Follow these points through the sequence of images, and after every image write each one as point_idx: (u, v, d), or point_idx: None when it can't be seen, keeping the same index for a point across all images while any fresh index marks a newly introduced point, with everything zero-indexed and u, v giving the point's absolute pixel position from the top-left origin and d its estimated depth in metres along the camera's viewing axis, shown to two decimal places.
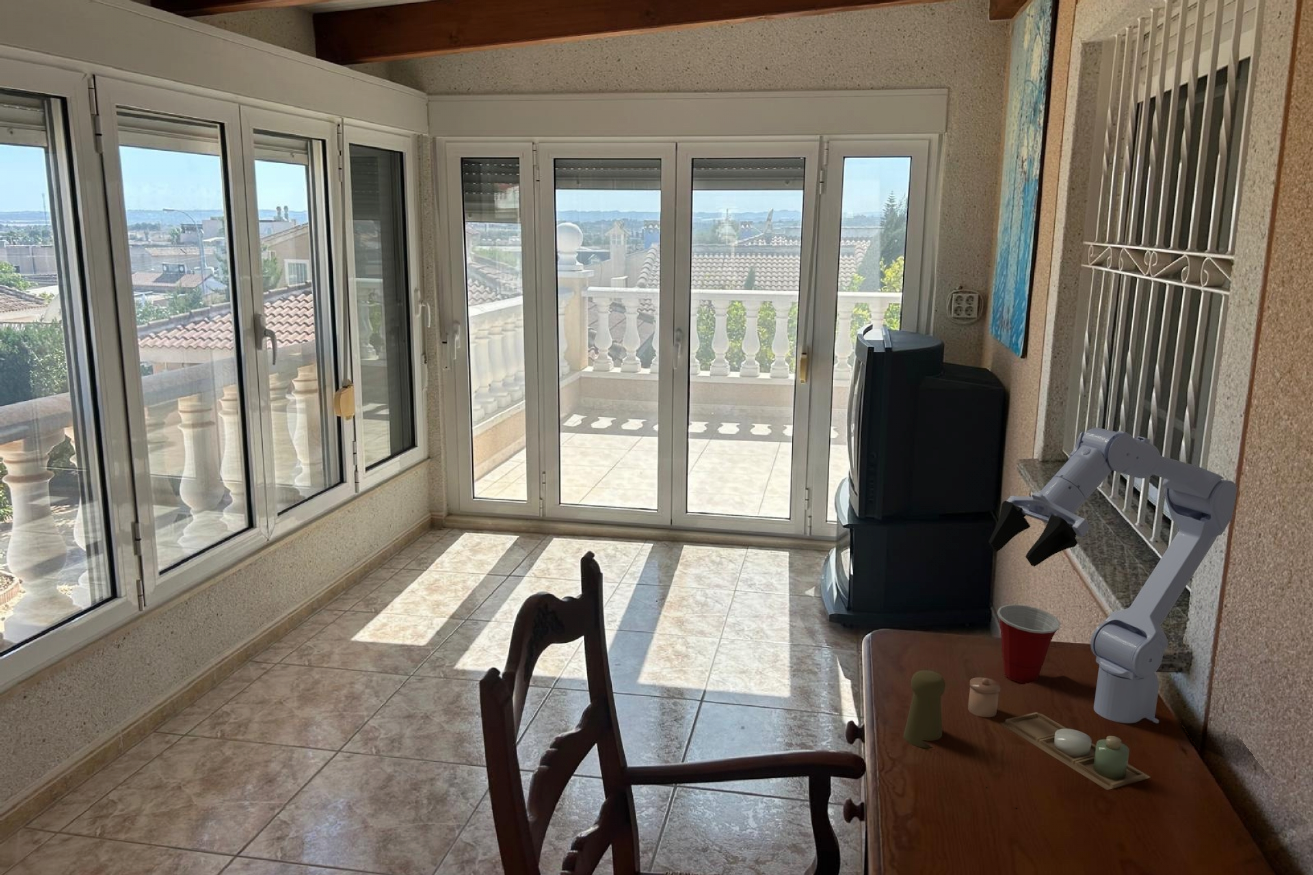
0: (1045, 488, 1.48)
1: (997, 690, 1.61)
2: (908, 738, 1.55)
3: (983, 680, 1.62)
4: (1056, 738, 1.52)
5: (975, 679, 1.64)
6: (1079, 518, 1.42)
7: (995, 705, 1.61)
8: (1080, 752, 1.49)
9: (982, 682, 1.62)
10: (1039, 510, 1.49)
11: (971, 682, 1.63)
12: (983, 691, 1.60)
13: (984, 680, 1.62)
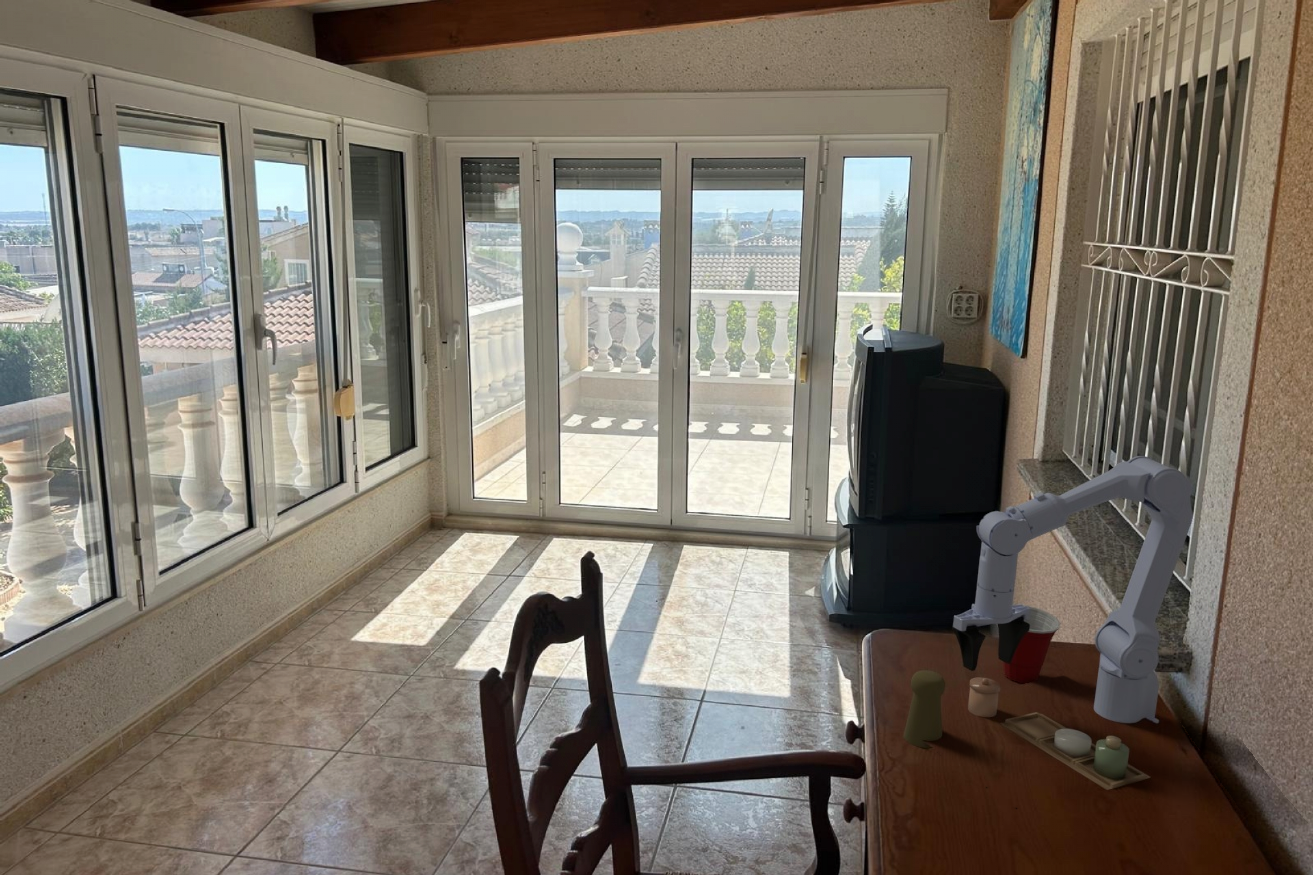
0: None
1: (997, 690, 1.61)
2: (908, 738, 1.55)
3: (983, 680, 1.62)
4: (1056, 738, 1.52)
5: (975, 679, 1.64)
6: (957, 616, 1.58)
7: (995, 705, 1.61)
8: (1080, 752, 1.49)
9: (982, 682, 1.62)
10: None
11: (971, 682, 1.63)
12: (983, 691, 1.61)
13: (984, 680, 1.62)
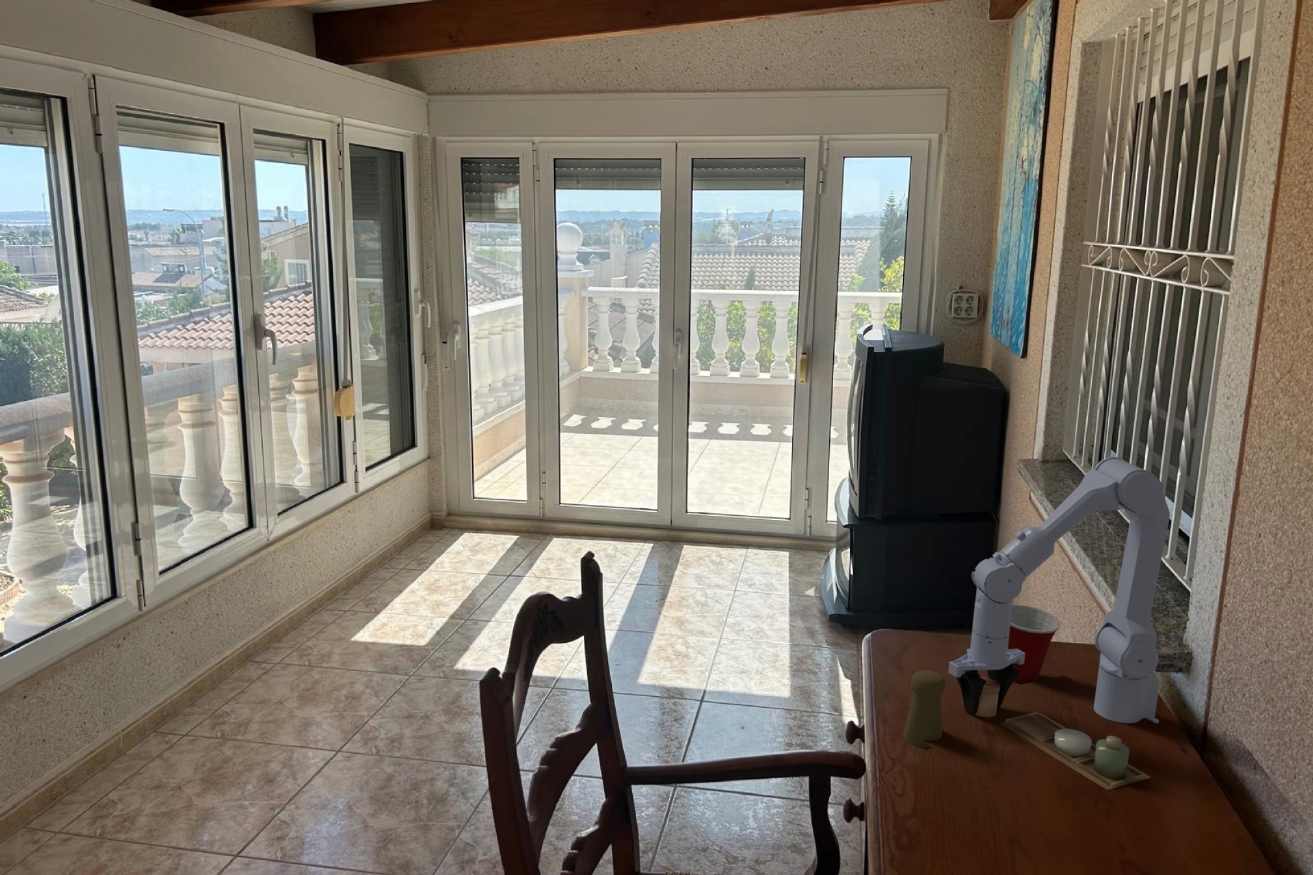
0: None
1: (997, 690, 1.61)
2: (908, 738, 1.55)
3: None
4: (1056, 738, 1.52)
5: None
6: None
7: (995, 705, 1.61)
8: (1080, 752, 1.49)
9: None
10: None
11: None
12: (983, 691, 1.60)
13: None
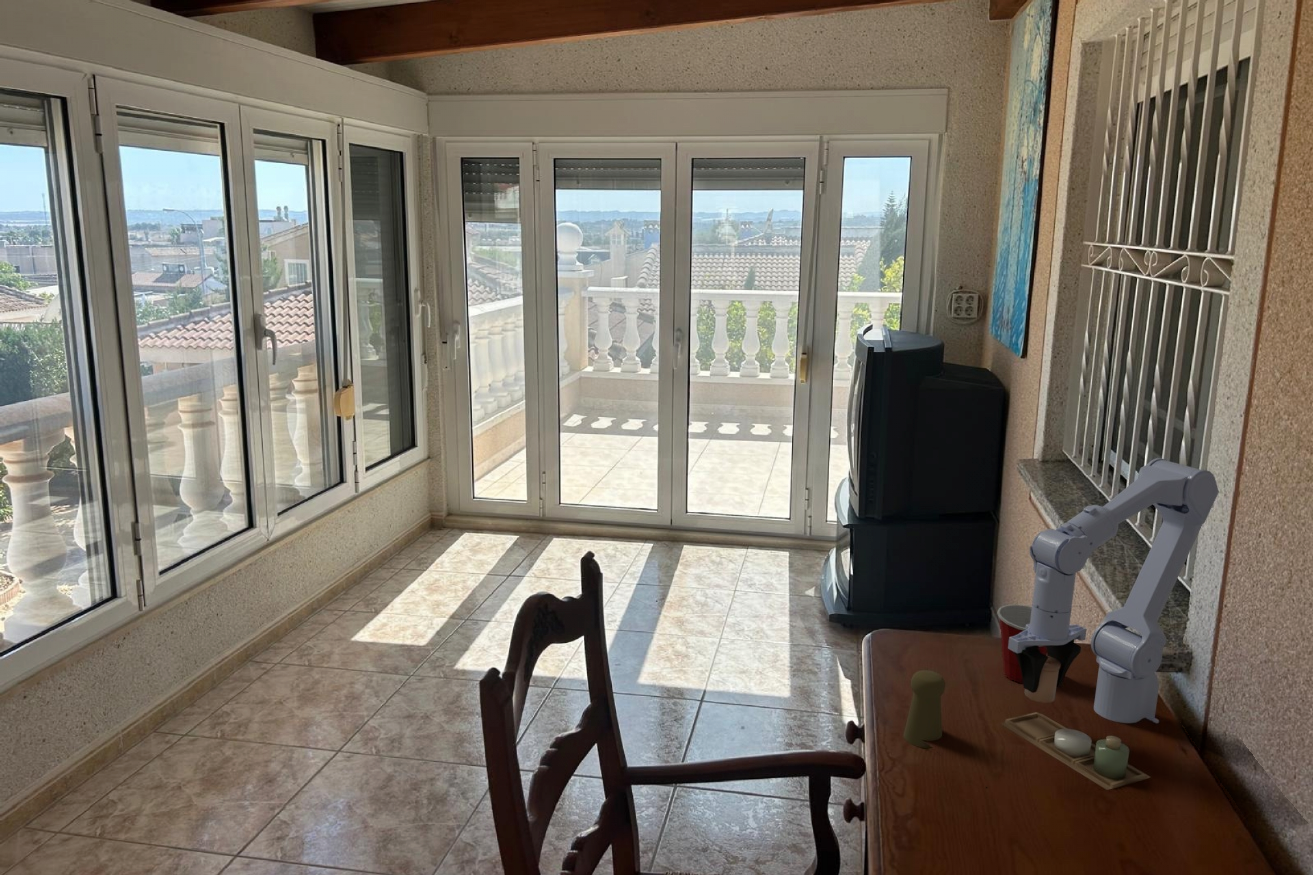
0: None
1: (1058, 668, 1.54)
2: (908, 738, 1.55)
3: None
4: (1056, 738, 1.52)
5: None
6: (1012, 637, 1.53)
7: (1055, 683, 1.55)
8: (1080, 752, 1.49)
9: None
10: None
11: None
12: (1044, 669, 1.54)
13: None
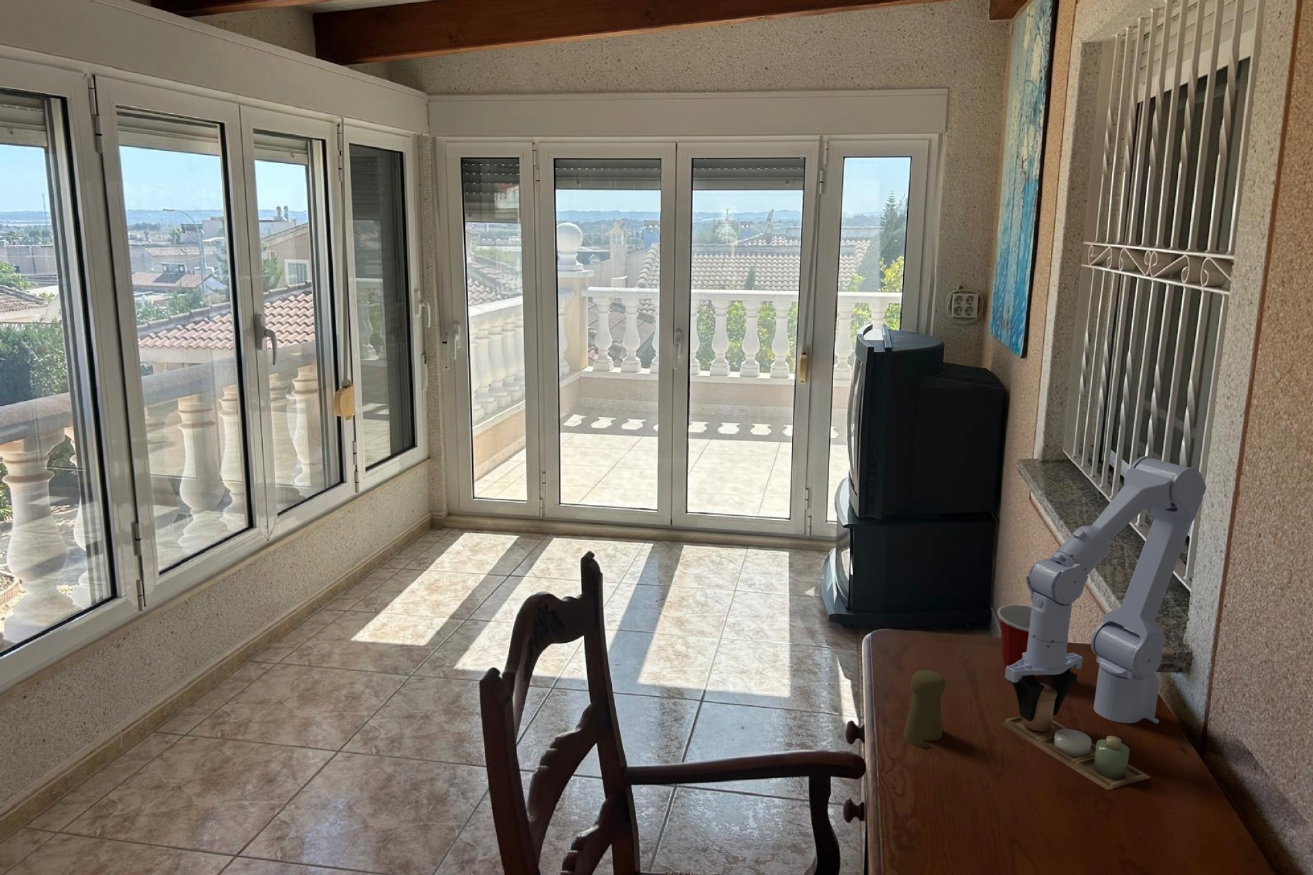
0: None
1: (1054, 696, 1.55)
2: (908, 738, 1.55)
3: None
4: (1056, 738, 1.52)
5: None
6: (1009, 667, 1.54)
7: (1052, 711, 1.56)
8: (1080, 752, 1.49)
9: None
10: None
11: None
12: (1040, 697, 1.55)
13: None
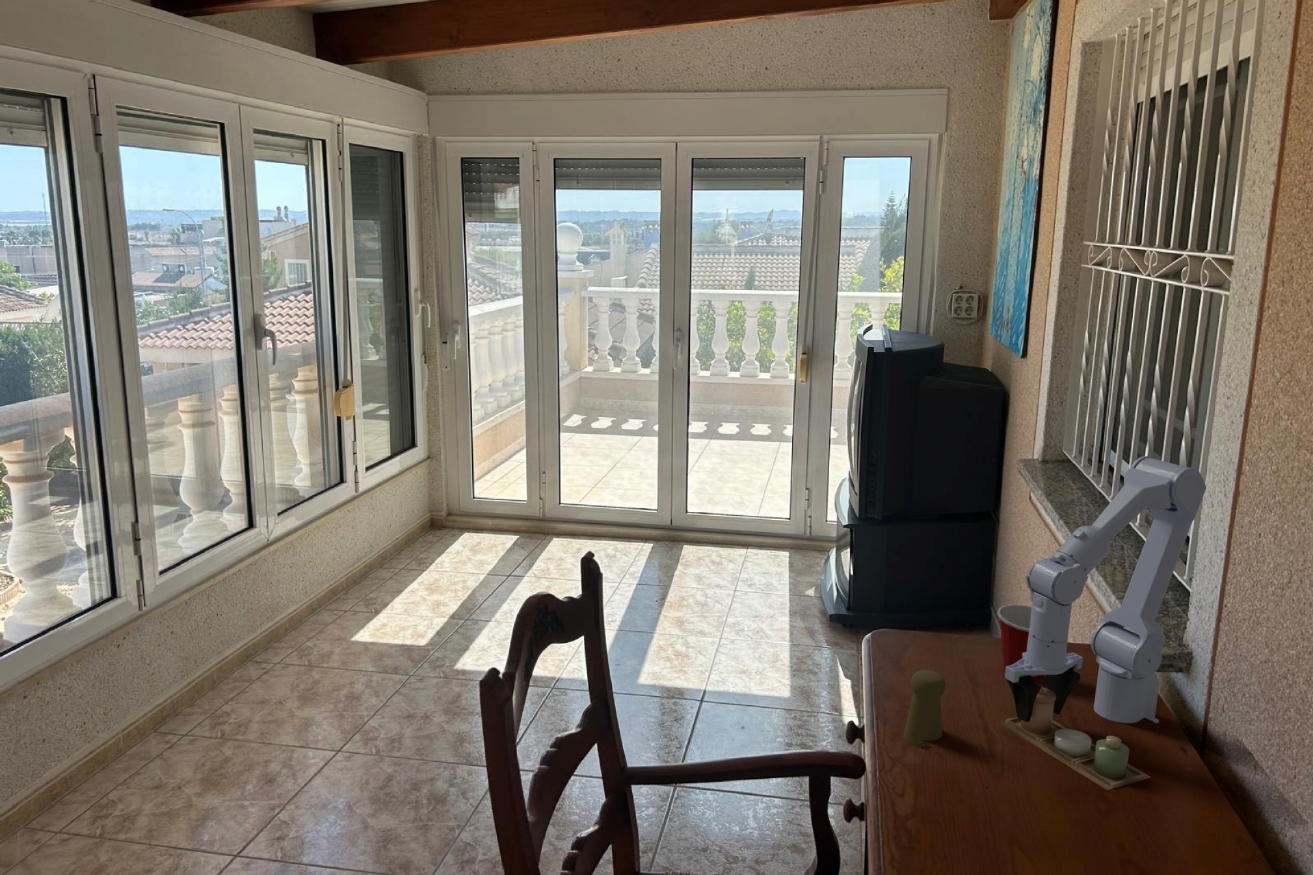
0: None
1: (1053, 699, 1.55)
2: (908, 738, 1.55)
3: None
4: (1056, 738, 1.52)
5: None
6: (1009, 667, 1.54)
7: (1051, 714, 1.56)
8: (1080, 752, 1.49)
9: None
10: None
11: None
12: (1039, 701, 1.55)
13: None
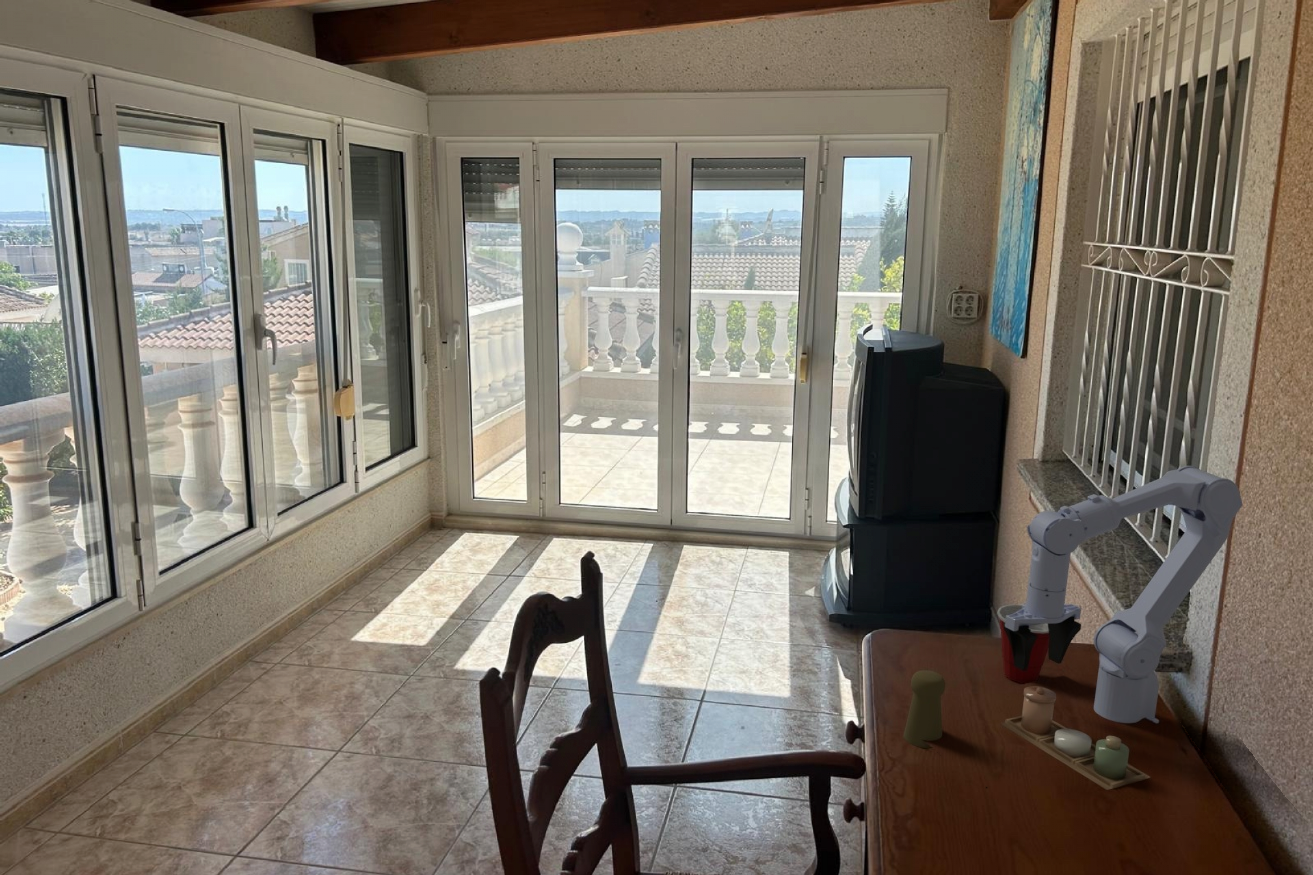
0: None
1: (1053, 699, 1.55)
2: (908, 738, 1.55)
3: (1038, 689, 1.57)
4: (1056, 738, 1.52)
5: (1029, 688, 1.59)
6: (1009, 616, 1.58)
7: (1051, 714, 1.56)
8: (1080, 752, 1.49)
9: (1037, 691, 1.57)
10: None
11: (1025, 691, 1.57)
12: (1039, 701, 1.55)
13: (1039, 689, 1.57)
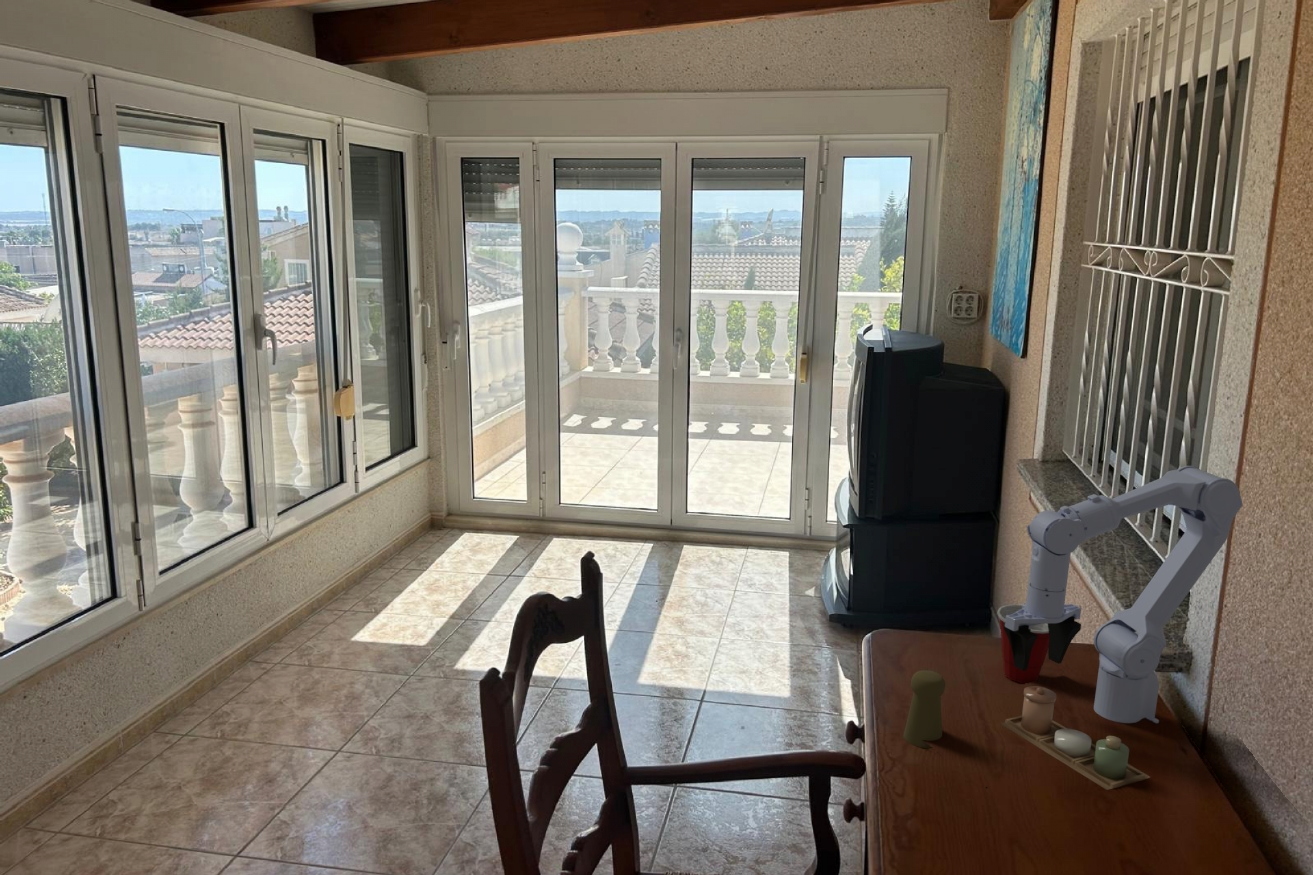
0: None
1: (1053, 700, 1.55)
2: (908, 738, 1.55)
3: (1038, 689, 1.57)
4: (1056, 738, 1.52)
5: (1029, 688, 1.59)
6: (1009, 616, 1.58)
7: (1051, 715, 1.56)
8: (1080, 752, 1.49)
9: (1037, 691, 1.57)
10: None
11: (1026, 691, 1.57)
12: (1039, 701, 1.55)
13: (1039, 689, 1.57)
